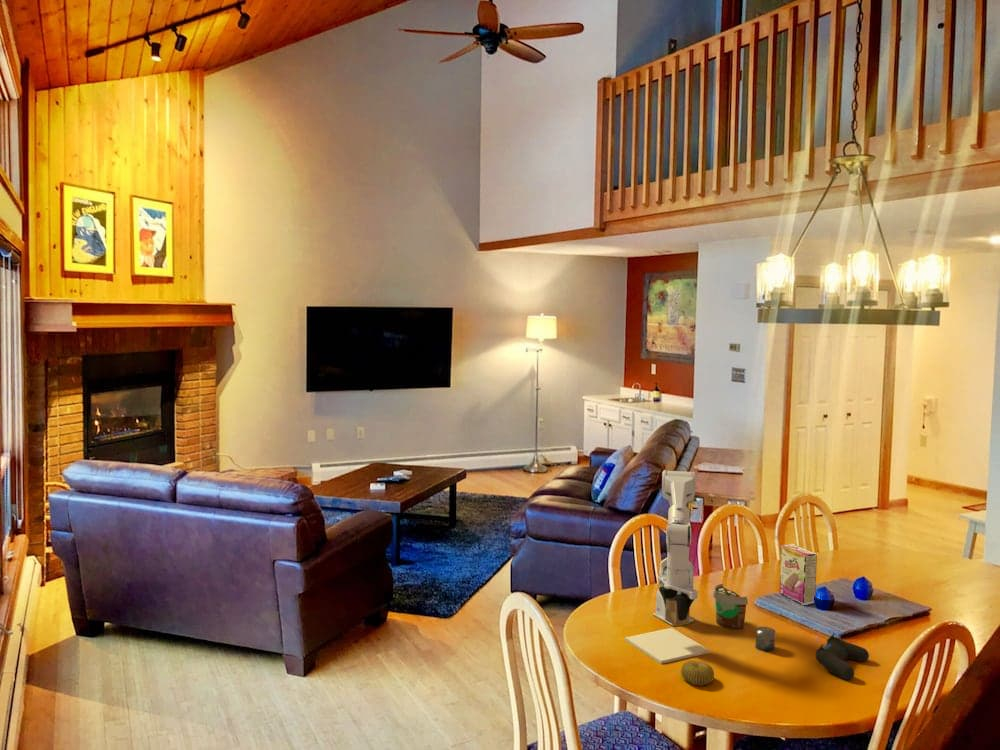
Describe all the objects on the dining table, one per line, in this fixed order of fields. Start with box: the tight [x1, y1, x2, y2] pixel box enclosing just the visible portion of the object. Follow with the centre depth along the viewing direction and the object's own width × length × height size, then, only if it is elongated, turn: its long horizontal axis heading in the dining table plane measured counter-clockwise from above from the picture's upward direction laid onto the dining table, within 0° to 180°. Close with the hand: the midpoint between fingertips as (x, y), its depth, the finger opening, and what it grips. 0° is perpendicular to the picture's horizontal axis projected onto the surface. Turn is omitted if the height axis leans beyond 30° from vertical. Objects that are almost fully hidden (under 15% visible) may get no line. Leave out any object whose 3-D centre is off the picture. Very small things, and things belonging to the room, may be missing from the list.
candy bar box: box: [779, 543, 818, 603], centre depth 251 cm, size 11×5×16 cm, turn 22°
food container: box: [712, 583, 749, 631], centre depth 231 cm, size 12×6×10 cm, turn 21°
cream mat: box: [624, 627, 710, 665], centre depth 216 cm, size 16×16×1 cm
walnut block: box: [665, 597, 691, 627], centre depth 215 cm, size 4×4×6 cm
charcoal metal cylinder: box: [754, 626, 776, 653], centre depth 215 cm, size 5×5×5 cm
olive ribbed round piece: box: [680, 660, 715, 686], centre depth 196 cm, size 8×4×8 cm
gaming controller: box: [815, 633, 870, 681], centre depth 205 cm, size 17×6×10 cm
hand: (676, 616), depth 215 cm, fingers closed on walnut block, 4 cm apart
